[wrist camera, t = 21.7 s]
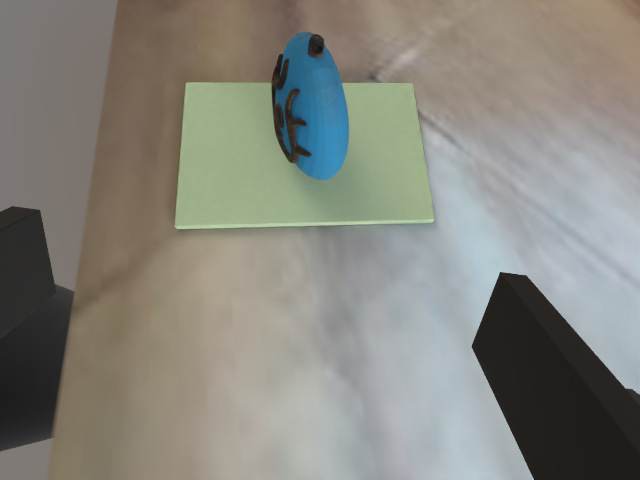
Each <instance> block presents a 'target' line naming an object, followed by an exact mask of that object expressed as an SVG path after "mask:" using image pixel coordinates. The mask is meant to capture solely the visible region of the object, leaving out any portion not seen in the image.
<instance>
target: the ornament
mask: <svg viewBox="0 0 640 480" xmlns="http://www.w3.org/2000/svg"><path fill="white" fill-rule="evenodd" d="M271 90H272V107H273V119H274V128H275V133H276V137H277V140H278V142H279V145H280V147H281V149H282V151H283V153H284V155H285V156H286V158H287V160H288V161H289V162H290V163H294V164H296V166H297V167H298V168H299V169H300V170H301V171H303V172H304V173H305V174H306V175H308V176H310V177H313V178H316V179H318V180H328V179H330V178H332V177H333V176H335V175H336V174H337V173H338V171H339V170H340V169H341V168H342V165H343V163H344V160H345V158H346V155H347V151H348V142H349V118H348V109H347V104H346V99H345V94H344V90H343V86H342V82H341V79H340V76H339V73H338V69H337V67H336V65H335V62H334V60H333V58H332V56H331V54H330V52H329V51H328V49H327V48H326V46H325V45H324V39H323V38H322V37H321V36H320V35H318V34H315V35H314V34H312V33H308V32H301V33H299V34H296V35H295V36H294V37H293V38H292V39H291V40H290V42H289V43H288V45H287V47H286V49H285V51H284V53H283V55H282V54H280V55H279V57H278V60H277V65H276V67H275V69H274V73H273V77H272V86H271Z"/></svg>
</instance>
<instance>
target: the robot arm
mask: <svg viewBox="0 0 640 480" xmlns="http://www.w3.org/2000/svg"><path fill="white" fill-rule="evenodd" d="M55 293H56V289H55V284H54V279H53V274H52V269H51V263H50V258H49V253H48V248H47V243H46V238H45V233H44V228H43V223H42V218H41V213H40V210H35V209H28V208H20V207H14V206H12V207H10V208H8V209H5V210H3V211H1V212H0V339H1V338H2V337H4V336H5V335H6V334H7V333H8V332H10V331H11V330H12V329H13V328H14V327H16V326H17V325H18V324H19V323H20V322H22V321H23V320H24V319H25V318H26V317H28V316H29V315H30V314H31V313H32V312H33V311H35V310H36V309H37V308H38V307H39V306H41V305H42V304H43V303H44V302H45V301H47V300H48V299H49V298H50V297H51V296H53V295H54V294H55ZM472 349H473V351H474V353H475V355H476V357H477V359H478V361H479V363H480V366H481V368H482V370H483V372H484V374H485V376H486V378H487V380H488V383H489V385H490V387H491V389H492V391H493V393H494V395H495V397H496V400H497V402H498V404H499V406H500V408H501V410H502V412H503V414H504V417H505V419H506V421H507V423H508V425H509V427H510V429H511V432H512V434H513V436H514V438H515V440H516V442H517V444H518V446H519V449H520V451H521V453H522V455H523V457H524V459H525V461H526V463H527V466H528V468H529V470H530V472H531V474H532V476H533V478H534V480H640V395H639V394H637V393H636V392H635V391H634V390H632V389H625V388H624V387H623V385H622V384H621V383H620V382H619V381H618V380H617V379H616V377H615V376H614V375H613V374H612V373H611V372H610V371H609V369H608V368H607V367H606V366H605V365H604V364H603V363H602V361H601V360H600V359H599V358H598V357H597V356H596V355H595V353H594V352H593V351H592V350H591V349H590V348H589V347H588V345H587V344H586V343H585V342H584V341H583V340H582V339H581V337H580V336H579V335H578V334H577V333H576V332H575V331H574V329H573V328H572V327H571V326H570V325H569V324H568V323H567V321H566V320H565V319H564V318H563V317H562V316H561V315H560V313H559V312H558V311H557V310H556V309H555V308H554V307H553V305H552V304H551V303H550V302H549V301H548V300H547V299H546V297H545V296H544V295H543V294H542V293H541V292H540V291H539V289H538V288H537V287H536V286H535V285H534V284H533V283H532V281H531V280H530V279H529V278H528V277H527V276H526V275H518V274H511V273H503V272H500V274H499V277H498V279H497V282H496V285H495V287H494V290H493V292H492V295H491V297H490V300H489V303H488V305H487V308H486V310H485V313H484V316H483V318H482V321H481V323H480V326H479V329H478V331H477V334H476V336H475V339H474V341H473V344H472Z"/></svg>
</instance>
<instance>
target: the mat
mask: <svg viewBox="0 0 640 480" xmlns="http://www.w3.org/2000/svg"><path fill="white" fill-rule="evenodd" d="M271 86H272V83H212V82H186V86H185V99H184V112H183V124H182V137H181V150H180V163H179V176H178V189H177V201H176V214H175V227H176V228H177V229H203V228H242V227H281V226H320V225H360V224H399V223H432V222H433V221H434V220H435V217H434V211H433V205H432V199H431V193H430V187H429V181H428V174H427V168H426V162H425V156H424V150H423V144H422V138H421V131H420V125H419V119H418V113H417V107H416V101H415V95H414V89H413V83H342V86H343V90H344V94H345V99H346V104H347V109H348V118H349V142H348V151H347V155H346V158H345V160H344V163H343V165H342V168H341V169H340V170H339V171H338V173H337V174H336V175H335V176H333V177H332V178H330V179H328V180H318V179H316V178H313V177H310V176H308V175H306V174H305V173H304V172H303V171H301V170H300V169H299V168H298V167H297V166H296V164H294V163H290V162H289V161H288V160H287V158H286V156H285V155H284V153H283V151H282V149H281V147H280V145H279V142H278V140H277V137H276V133H275V128H274V119H273V107H272V90H271Z"/></svg>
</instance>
